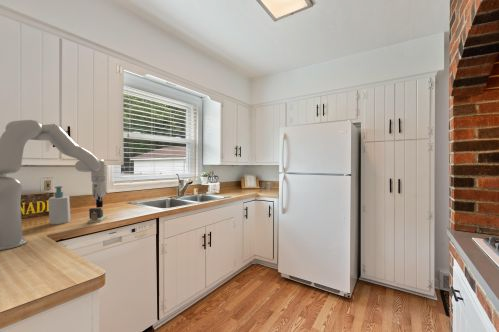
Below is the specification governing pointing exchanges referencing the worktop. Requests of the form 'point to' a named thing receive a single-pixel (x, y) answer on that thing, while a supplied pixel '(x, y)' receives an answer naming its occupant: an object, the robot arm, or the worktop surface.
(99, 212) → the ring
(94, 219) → the pipe rig
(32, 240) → the worktop surface
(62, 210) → the soap bottle
